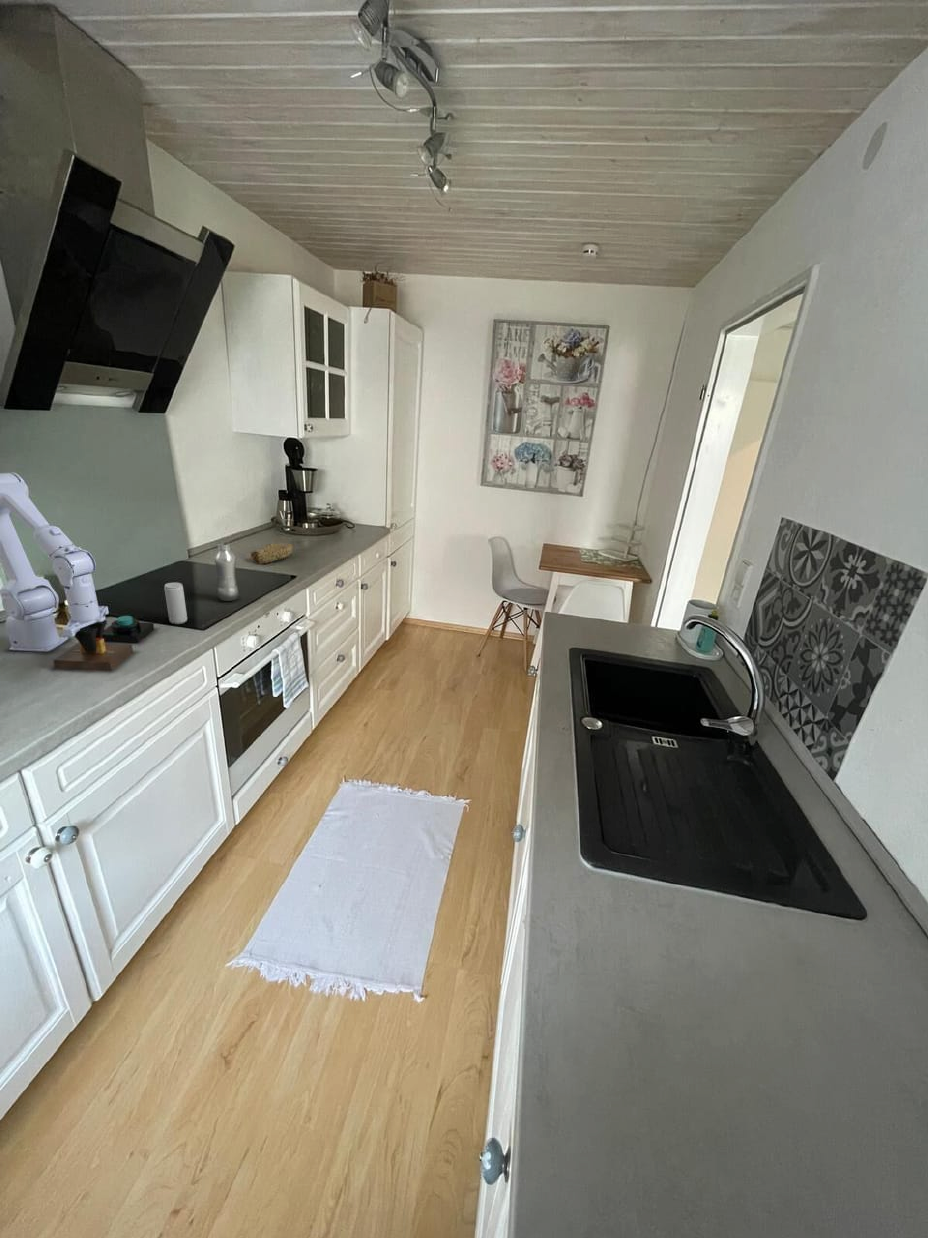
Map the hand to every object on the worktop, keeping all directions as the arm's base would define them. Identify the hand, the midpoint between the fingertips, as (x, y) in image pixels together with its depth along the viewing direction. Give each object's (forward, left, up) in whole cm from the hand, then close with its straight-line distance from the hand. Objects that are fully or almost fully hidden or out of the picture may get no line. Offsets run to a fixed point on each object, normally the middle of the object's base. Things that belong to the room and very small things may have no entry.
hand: (93, 650), depth 124 cm
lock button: (0, +15, +1) cm, 15 cm away
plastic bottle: (+17, +46, -3) cm, 49 cm away
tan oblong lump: (+19, +96, -3) cm, 98 cm away
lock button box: (0, +15, -3) cm, 15 cm away
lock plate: (0, 0, -3) cm, 3 cm away
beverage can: (+9, +26, -3) cm, 28 cm away
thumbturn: (0, 0, 0) cm, 0 cm away
